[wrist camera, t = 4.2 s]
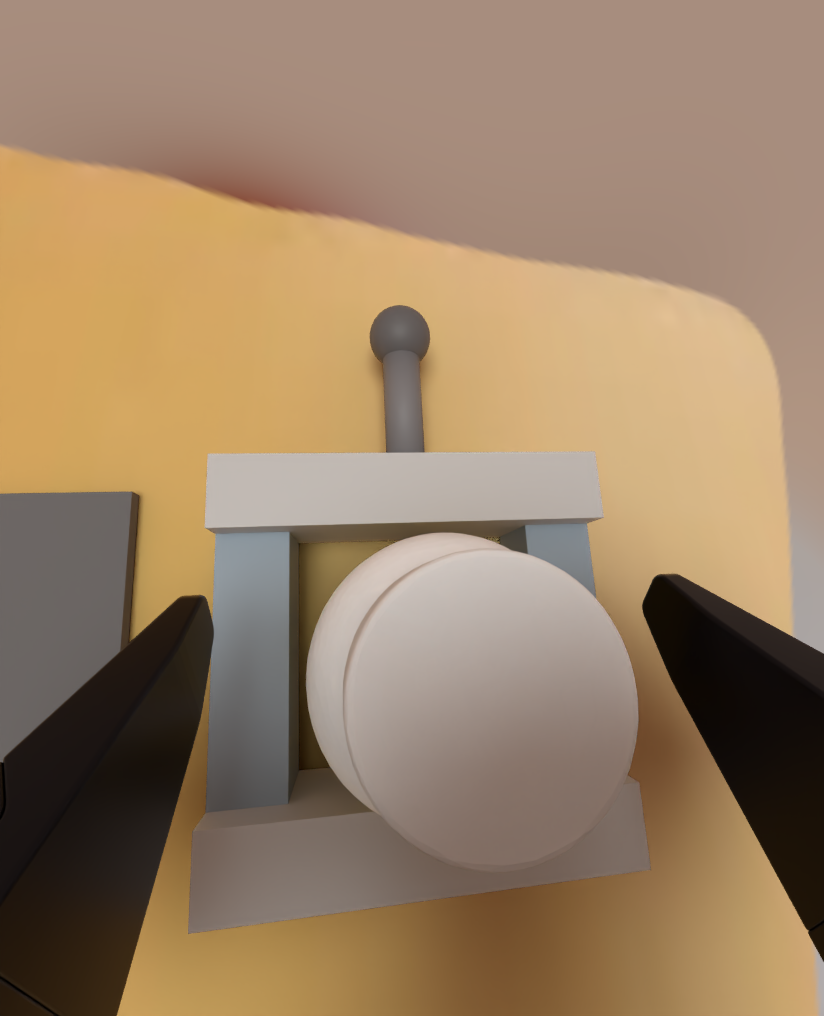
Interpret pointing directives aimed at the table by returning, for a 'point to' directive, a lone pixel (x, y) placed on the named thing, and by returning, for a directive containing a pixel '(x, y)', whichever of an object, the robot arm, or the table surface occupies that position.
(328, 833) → the vise
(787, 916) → the table surface
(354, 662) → the supplement bottle
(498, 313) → the table surface
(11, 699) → the pad
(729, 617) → the robot arm
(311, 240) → the table surface
